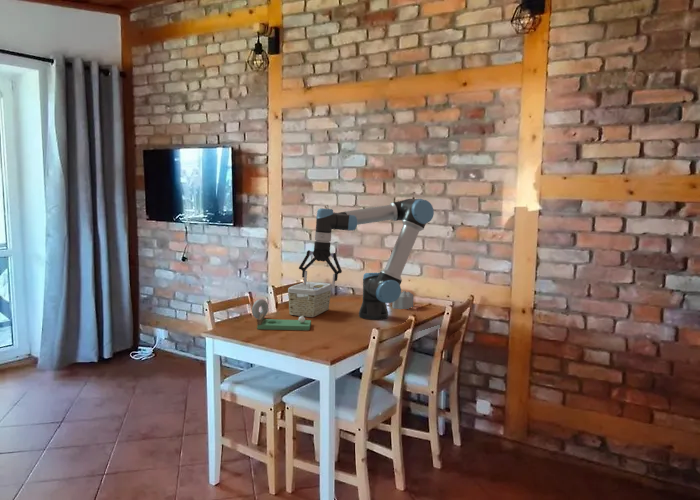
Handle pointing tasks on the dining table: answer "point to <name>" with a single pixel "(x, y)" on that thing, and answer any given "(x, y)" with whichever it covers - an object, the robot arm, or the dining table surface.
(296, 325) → the mat
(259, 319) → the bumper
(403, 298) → the lumpy-topped squat cylinder
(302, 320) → the ball
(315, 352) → the dining table surface
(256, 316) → the donut
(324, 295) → the storage basket
